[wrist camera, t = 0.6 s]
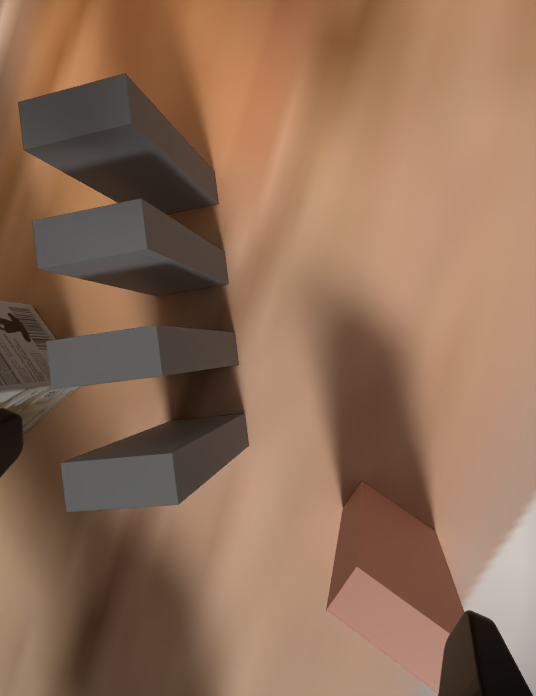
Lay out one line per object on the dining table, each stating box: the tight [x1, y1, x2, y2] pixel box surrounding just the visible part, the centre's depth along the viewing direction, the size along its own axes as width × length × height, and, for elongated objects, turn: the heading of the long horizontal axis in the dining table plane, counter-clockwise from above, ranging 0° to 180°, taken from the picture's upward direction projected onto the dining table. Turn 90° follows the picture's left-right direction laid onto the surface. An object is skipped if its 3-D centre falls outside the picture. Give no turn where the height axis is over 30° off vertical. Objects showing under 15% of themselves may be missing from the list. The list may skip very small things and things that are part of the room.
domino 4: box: [61, 413, 249, 512], centre depth 22 cm, size 2×4×10 cm, turn 97°
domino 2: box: [32, 199, 229, 296], centre depth 22 cm, size 2×4×10 cm, turn 97°
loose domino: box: [326, 481, 464, 693], centre depth 20 cm, size 2×4×10 cm, turn 58°
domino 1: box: [18, 73, 219, 214], centre depth 22 cm, size 2×4×10 cm, turn 98°
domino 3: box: [46, 325, 239, 390], centre depth 22 cm, size 2×4×10 cm, turn 98°
